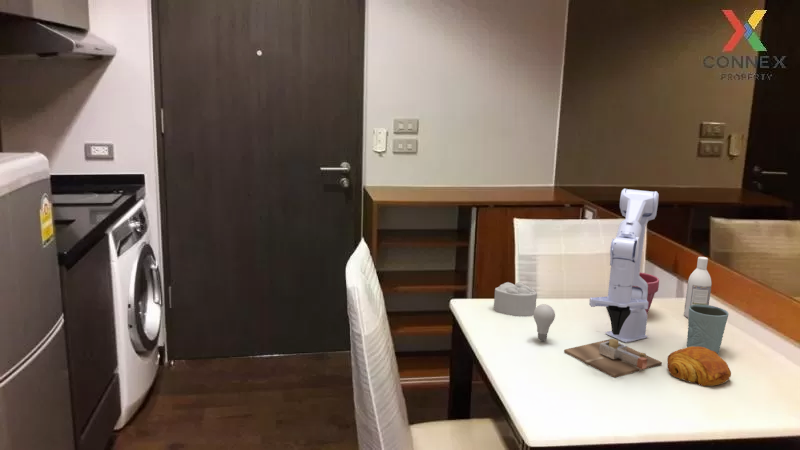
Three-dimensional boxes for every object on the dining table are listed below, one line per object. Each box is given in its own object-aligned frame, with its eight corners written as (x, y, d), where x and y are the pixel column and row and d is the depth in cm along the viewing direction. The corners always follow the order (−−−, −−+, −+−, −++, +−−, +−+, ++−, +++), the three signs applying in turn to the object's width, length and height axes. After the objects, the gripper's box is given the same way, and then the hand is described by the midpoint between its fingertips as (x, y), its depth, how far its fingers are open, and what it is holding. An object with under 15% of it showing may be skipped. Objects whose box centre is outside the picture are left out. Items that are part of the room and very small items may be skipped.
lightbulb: (553, 346, 189) (556, 309, 187) (531, 343, 190) (533, 307, 188) (552, 338, 195) (555, 302, 193) (531, 336, 196) (534, 300, 194)
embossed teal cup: (678, 349, 190) (683, 309, 187) (691, 340, 197) (696, 301, 195) (715, 360, 183) (721, 318, 181) (727, 350, 190) (733, 310, 188)
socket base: (610, 341, 194) (612, 324, 193) (663, 365, 178) (665, 347, 177) (562, 352, 185) (564, 334, 184) (614, 379, 169) (616, 359, 168)
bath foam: (711, 320, 215) (719, 260, 210) (692, 321, 213) (700, 260, 209) (697, 313, 221) (705, 254, 217) (679, 314, 220) (686, 255, 215)
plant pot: (617, 304, 228) (621, 267, 225) (660, 313, 220) (664, 276, 217) (603, 315, 216) (607, 277, 214) (647, 325, 208) (652, 286, 206)
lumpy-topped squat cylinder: (502, 302, 225) (504, 278, 223) (539, 310, 219) (541, 285, 217) (490, 311, 216) (492, 285, 215) (529, 319, 210) (531, 293, 208)
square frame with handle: (598, 353, 182) (599, 343, 182) (611, 349, 185) (612, 339, 184) (638, 370, 172) (639, 360, 171) (650, 366, 175) (651, 356, 174)
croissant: (655, 375, 177) (655, 348, 175) (700, 360, 183) (700, 333, 181) (698, 398, 164) (698, 368, 162) (745, 381, 169) (745, 352, 168)
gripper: (596, 287, 168) (591, 337, 171) (654, 289, 167) (648, 340, 170) (589, 278, 175) (584, 327, 178) (645, 281, 174) (639, 330, 177)
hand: (615, 333), depth 175 cm, fingers closed
